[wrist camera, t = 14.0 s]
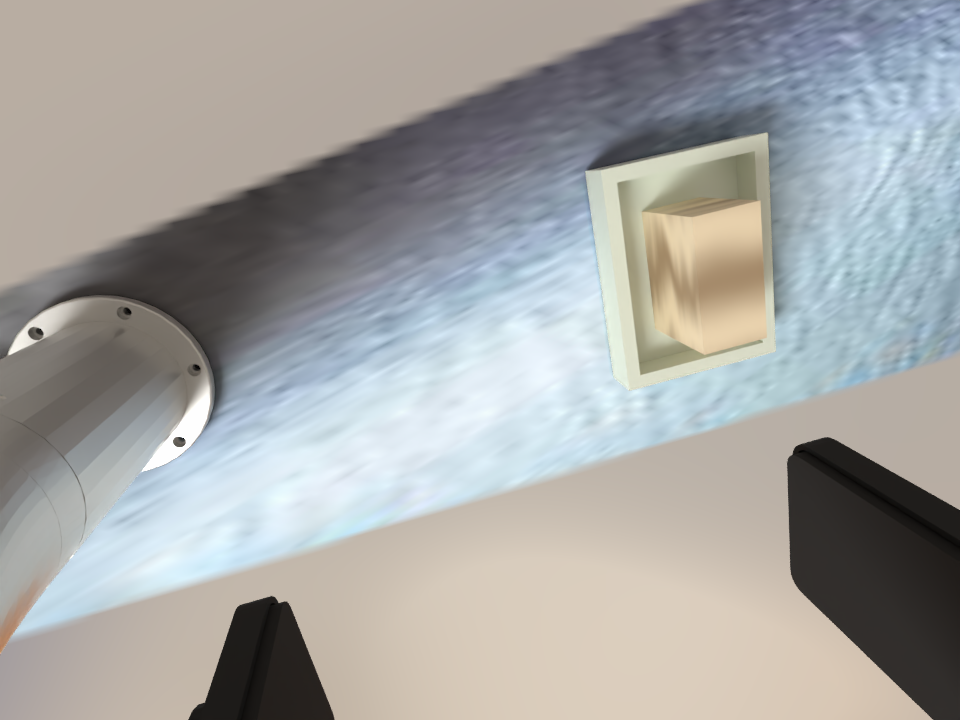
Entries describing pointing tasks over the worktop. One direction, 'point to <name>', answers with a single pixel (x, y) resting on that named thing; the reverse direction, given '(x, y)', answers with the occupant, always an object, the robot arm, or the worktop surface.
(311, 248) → the worktop surface
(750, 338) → the block
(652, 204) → the tray
